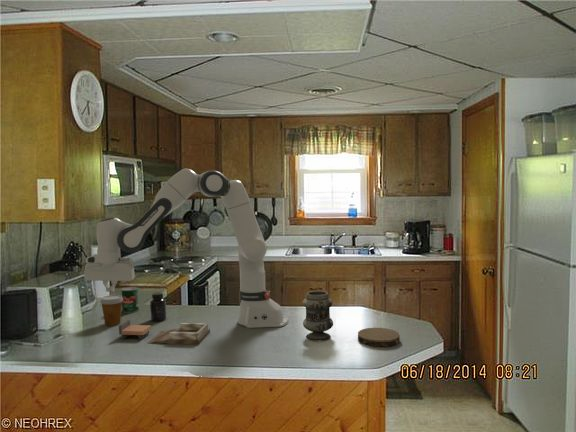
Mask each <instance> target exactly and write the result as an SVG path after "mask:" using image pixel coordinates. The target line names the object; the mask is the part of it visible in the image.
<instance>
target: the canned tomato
mask: <svg viewBox="0 0 576 432" xmlns="http://www.w3.org/2000/svg"><path fill="white" fill-rule="evenodd" d="M120 292H121V296H122V298H123V301H122V309H121V313H123V314H124V313H125V314H126V313H127V314H130V313H135V312H139V310H140V305H139V287H138V286H125V287H122V288H121V291H120Z"/></svg>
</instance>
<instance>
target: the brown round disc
mask: <svg viewBox="0 0 576 432" xmlns="http://www.w3.org/2000/svg"><path fill="white" fill-rule="evenodd" d="M357 342H358V343H359V344H361V345H363V346H367V347H370V348H383V349H384V348H393V347H396V346H398V345H399V344H400V343H401V342H400V333H399V332H398V331H396V330H393V329H390V328H386V327H366V328H363V329H360V330H359V331H358V332H357Z"/></svg>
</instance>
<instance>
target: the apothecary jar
mask: <svg viewBox="0 0 576 432" xmlns="http://www.w3.org/2000/svg"><path fill="white" fill-rule="evenodd" d="M302 305H303V306H304V307H305V318H304V319H303V321H302V325H303V328H304V329H305V330H307V331H309V333H307V334H306V336H305V339H307V340H308V341H312V342H324V341H328V340H330V339H331V337H332V336H331V335H330V333H327V331H329V330H330V329H332V328H333V326H334V321H333V319H332V318H331V315H330V313H331V312H330V310H331V309H330V308H331V307H332V306H333V299H332V298H330V296H329V293H328V291H325V290H311V291H308V292H306V297H305V298H304V299H303V300H302Z"/></svg>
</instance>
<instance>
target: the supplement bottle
mask: <svg viewBox="0 0 576 432" xmlns="http://www.w3.org/2000/svg"><path fill="white" fill-rule="evenodd" d="M151 296H152V297H151V298H152V299H151V300H150V303H149V304H150V306H149V307H150V320H151V321H152V322H162V321H165V320H167V306H166V305H167V302H166V299H165V298H164V293H163V292H154V293H152V294H151Z"/></svg>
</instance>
